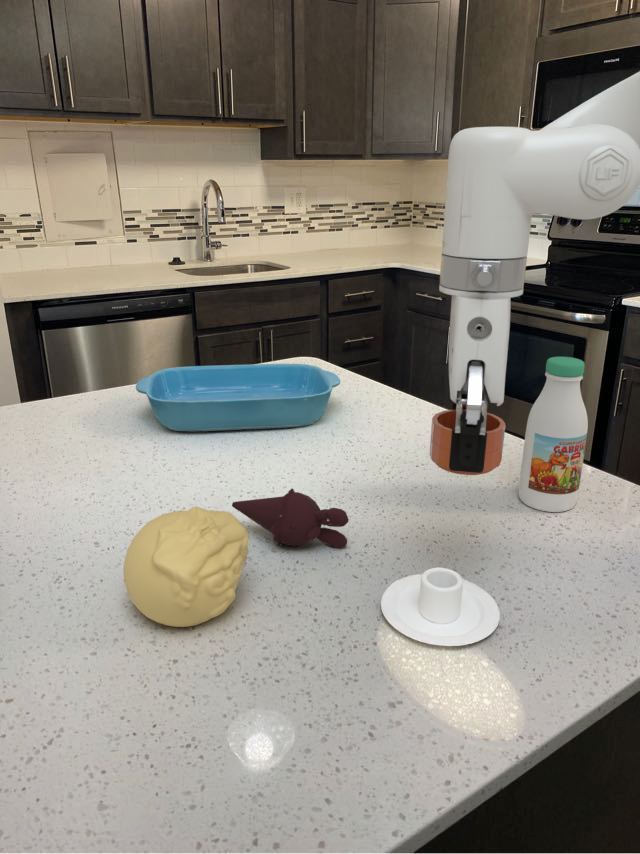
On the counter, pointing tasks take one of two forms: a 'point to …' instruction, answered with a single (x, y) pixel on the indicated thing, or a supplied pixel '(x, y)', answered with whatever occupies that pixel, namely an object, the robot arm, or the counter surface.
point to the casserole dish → (238, 396)
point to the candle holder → (440, 608)
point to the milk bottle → (555, 439)
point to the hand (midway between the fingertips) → (465, 453)
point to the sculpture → (186, 566)
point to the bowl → (442, 441)
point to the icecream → (295, 519)
